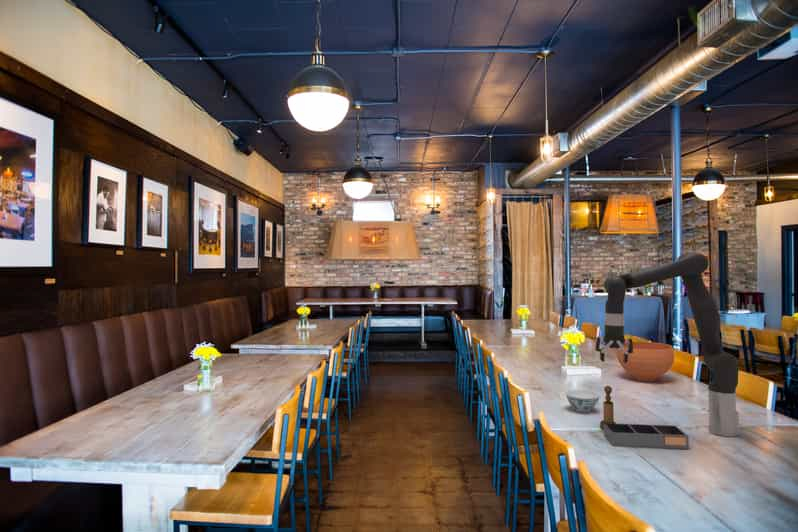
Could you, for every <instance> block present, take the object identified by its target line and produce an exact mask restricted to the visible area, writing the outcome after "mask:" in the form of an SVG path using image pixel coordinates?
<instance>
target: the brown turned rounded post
mask: <svg viewBox="0 0 798 532" xmlns="http://www.w3.org/2000/svg"><path fill="white" fill-rule="evenodd" d="M603 390H604V392H605V401H603V403H602V404H603V419H602V420H601V421H600V422H599V425H600V426H599V428H600V430H603V431H604V423H615V424H618V423H617V422H616V421H614V420H615V418H614V402H613V401H611V400H612V396H611V393H612V392H613V388H612V387H611V386H609V385H606V386H604V388H603Z"/></svg>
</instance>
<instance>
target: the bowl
mask: <svg viewBox="0 0 798 532" xmlns="http://www.w3.org/2000/svg"><path fill="white" fill-rule="evenodd" d="M632 342H633V353H629V354H628V362H626V363H624V362H623V354H624V352H623V351H622V349H621V348H616V357H617V360H618V363H619V364H620V366H621V367H622V368H623V370H624V371H625V372H626V373H628V374H629V375H630V376H632V377H633V378H635V379H634V380H636V379H637V380H636V381H639V380H642V381H641V382H644V381H653V382H655V381H654V380H657V379H659V378H661V376H663V375H665V374H666V373H668V372H669V370H670V369H671V368H672V367H673V365H674V361H675V352H674V348H673V346H672V345H670V344H667V343H666V344H665V343H661V342H654V341H653V342H651V341H641V340H640V341H639V340H638V341H633V340H632ZM623 346H624V348H625V349H626V350H628V344H627V343H626V341H625V342H624V343H623Z"/></svg>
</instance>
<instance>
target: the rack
mask: <svg viewBox="0 0 798 532" xmlns="http://www.w3.org/2000/svg"><path fill="white" fill-rule="evenodd" d="M615 423H616V422H615ZM615 423H604V430H603V436H604V437H605V439H606V440H607V441H608V443H609V444H610V445H611V446H612V447H628V448H629V447H632V448H652V449H673V450H675V449H678V450H689V449H690V448H689V447H690V440H689V435H688V434H687V433H685V432H684V431H683V430H682V429H681V428H679V426H677V425H669V424H668V425H667V424H643V423H642V424H639V423H638V424H637V423H617V424H615Z"/></svg>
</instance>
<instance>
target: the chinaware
mask: <svg viewBox="0 0 798 532" xmlns="http://www.w3.org/2000/svg"><path fill="white" fill-rule="evenodd" d="M565 396H566V399H567V401H568V403H569V404H570V405H571V407H573V408H574V409H575V411H576V410H577V412H579V411H581V412H580V413H590V412H591V410H592V409H594V408H595V407H596V405H597V404H598V402H599V401H600V394H599V393H597V392H594V391H592V390H591V391H590V390H585V389H571V390H568V391H566V392H565Z"/></svg>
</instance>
